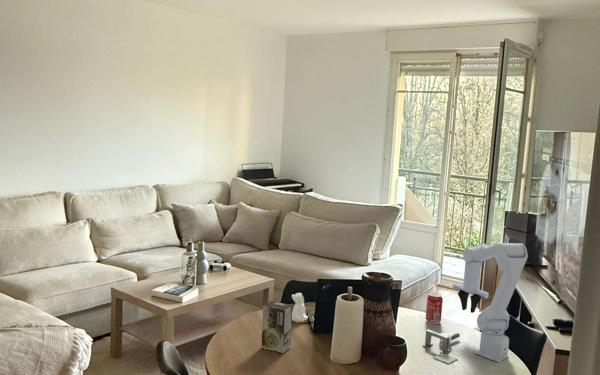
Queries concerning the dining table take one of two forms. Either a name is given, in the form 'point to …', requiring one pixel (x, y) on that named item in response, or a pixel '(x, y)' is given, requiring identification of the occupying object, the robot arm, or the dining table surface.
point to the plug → (449, 338)
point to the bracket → (440, 336)
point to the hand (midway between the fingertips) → (468, 310)
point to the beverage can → (434, 308)
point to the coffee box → (276, 326)
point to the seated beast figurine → (298, 308)
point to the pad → (445, 358)
